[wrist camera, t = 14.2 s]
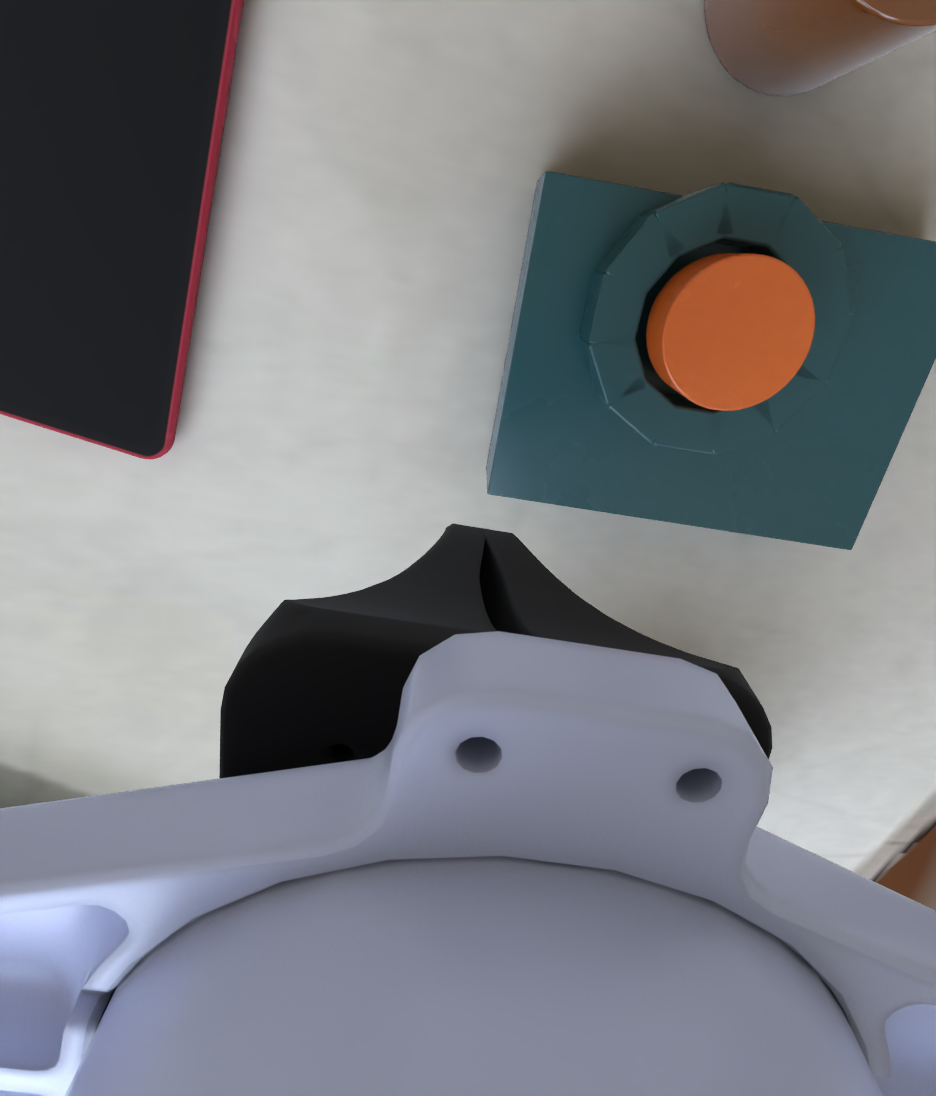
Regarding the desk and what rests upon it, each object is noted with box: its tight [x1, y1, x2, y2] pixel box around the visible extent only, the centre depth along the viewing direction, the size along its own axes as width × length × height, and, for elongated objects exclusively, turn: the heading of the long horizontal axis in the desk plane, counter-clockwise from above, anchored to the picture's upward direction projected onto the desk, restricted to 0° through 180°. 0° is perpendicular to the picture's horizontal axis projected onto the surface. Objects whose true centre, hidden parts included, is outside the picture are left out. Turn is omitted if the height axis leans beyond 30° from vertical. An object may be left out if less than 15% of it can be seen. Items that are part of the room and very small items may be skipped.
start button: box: [646, 253, 815, 411], centre depth 17 cm, size 4×4×2 cm
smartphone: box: [0, 0, 244, 459], centre depth 19 cm, size 7×1×15 cm
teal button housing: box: [486, 171, 936, 550], centre depth 20 cm, size 12×9×4 cm
